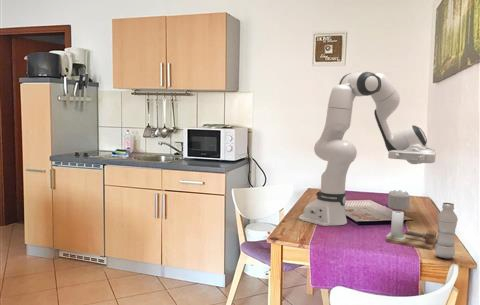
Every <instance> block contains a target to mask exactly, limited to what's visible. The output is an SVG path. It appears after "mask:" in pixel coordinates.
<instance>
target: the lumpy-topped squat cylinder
mask: <svg viewBox="0 0 480 305" xmlns="http://www.w3.org/2000/svg"><path fill="white" fill-rule="evenodd" d="M410 196H411V195H409V192H408V191H403V190H401V189H399V190H398V191H397V190H396V189H394V190H390V191H389V192H388V193H387V207H388V208H389V209H392V210H409V209H410V199H411V198H410Z"/></svg>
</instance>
